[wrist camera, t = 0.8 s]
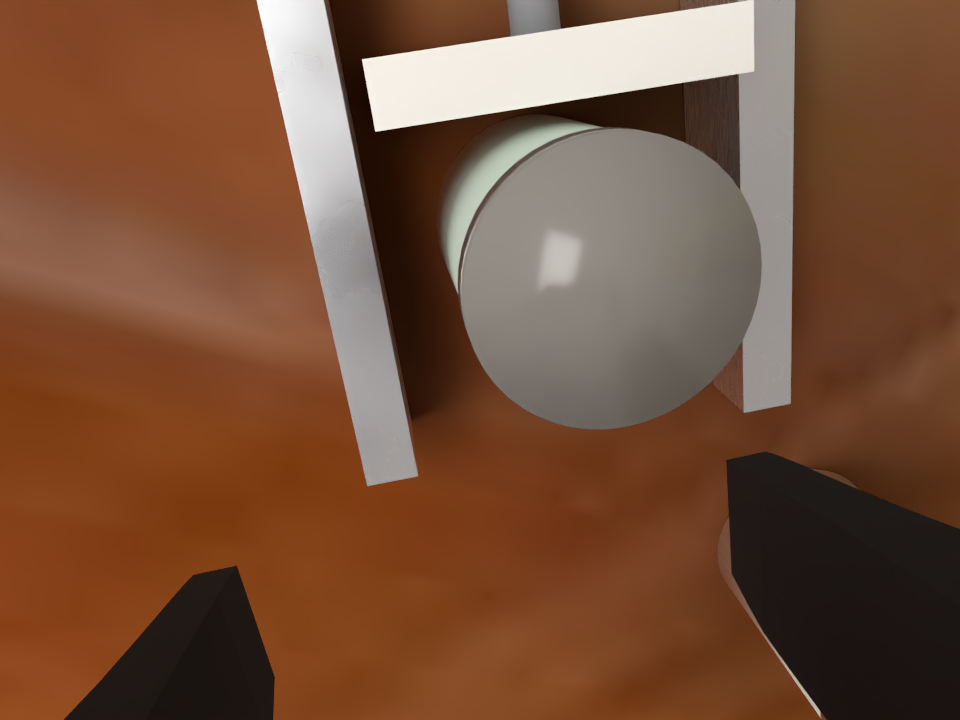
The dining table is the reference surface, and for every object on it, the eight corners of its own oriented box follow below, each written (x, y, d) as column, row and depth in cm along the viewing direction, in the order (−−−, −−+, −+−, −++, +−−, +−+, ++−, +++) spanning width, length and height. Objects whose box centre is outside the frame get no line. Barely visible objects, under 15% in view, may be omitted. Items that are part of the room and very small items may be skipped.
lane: (735, 360, 21) (812, 421, 18) (367, 429, 21) (367, 509, 17) (720, -498, 15) (839, -688, 11) (174, -442, 14) (105, -627, 10)
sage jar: (640, 298, 20) (762, 400, 14) (448, 332, 20) (486, 453, 14) (626, 94, 18) (761, 106, 12) (414, 128, 18) (439, 159, 12)
